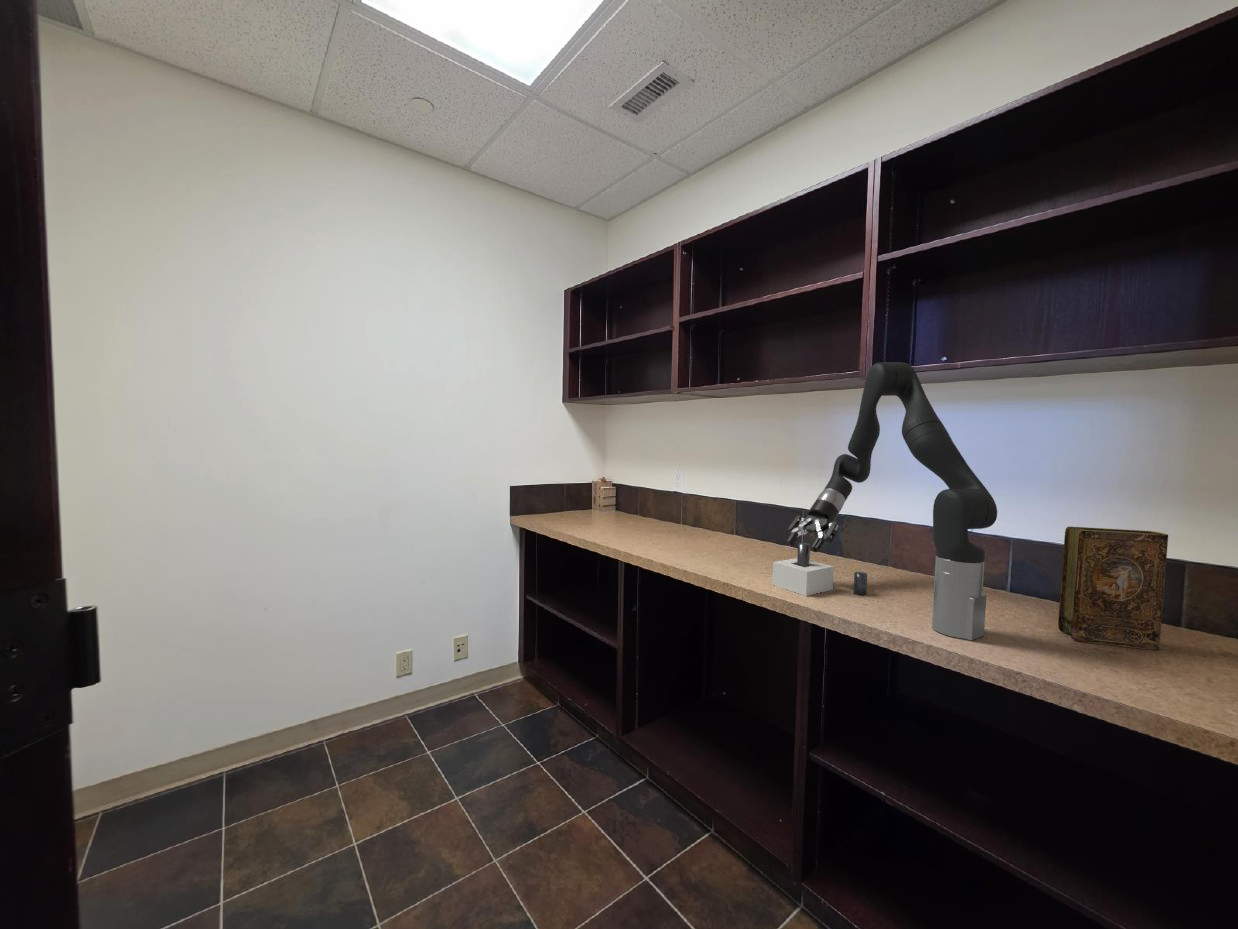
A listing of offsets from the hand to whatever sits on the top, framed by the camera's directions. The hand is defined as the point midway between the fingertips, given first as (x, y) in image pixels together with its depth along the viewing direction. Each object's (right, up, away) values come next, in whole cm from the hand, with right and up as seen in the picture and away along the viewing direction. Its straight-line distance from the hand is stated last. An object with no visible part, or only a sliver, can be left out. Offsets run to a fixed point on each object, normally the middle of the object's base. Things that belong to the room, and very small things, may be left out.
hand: (801, 547), depth 146 cm
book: (+56, -15, -35) cm, 68 cm away
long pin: (+1, -12, +1) cm, 12 cm away
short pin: (+16, -13, -4) cm, 20 cm away
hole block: (+1, -12, +1) cm, 12 cm away
